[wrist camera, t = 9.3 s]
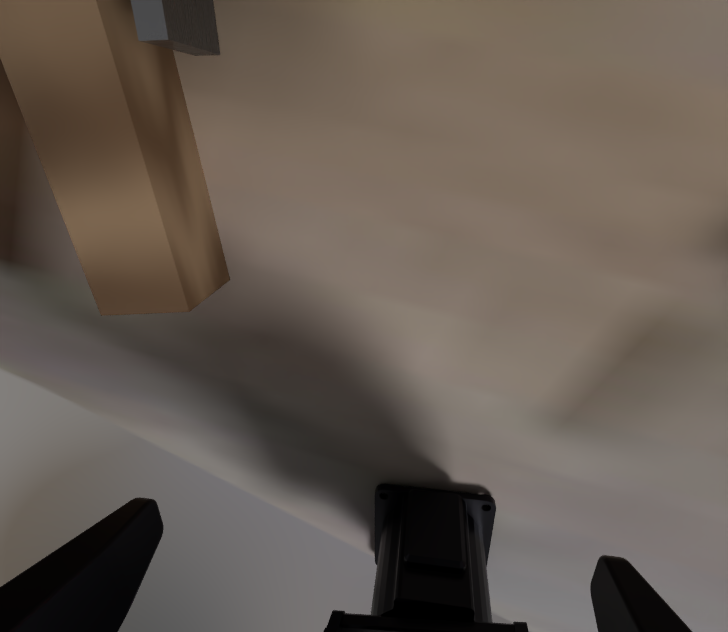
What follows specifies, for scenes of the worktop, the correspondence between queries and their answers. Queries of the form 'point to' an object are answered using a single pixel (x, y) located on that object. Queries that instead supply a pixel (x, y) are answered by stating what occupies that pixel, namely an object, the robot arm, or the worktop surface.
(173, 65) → the rail
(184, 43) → the bracket
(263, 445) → the worktop surface
